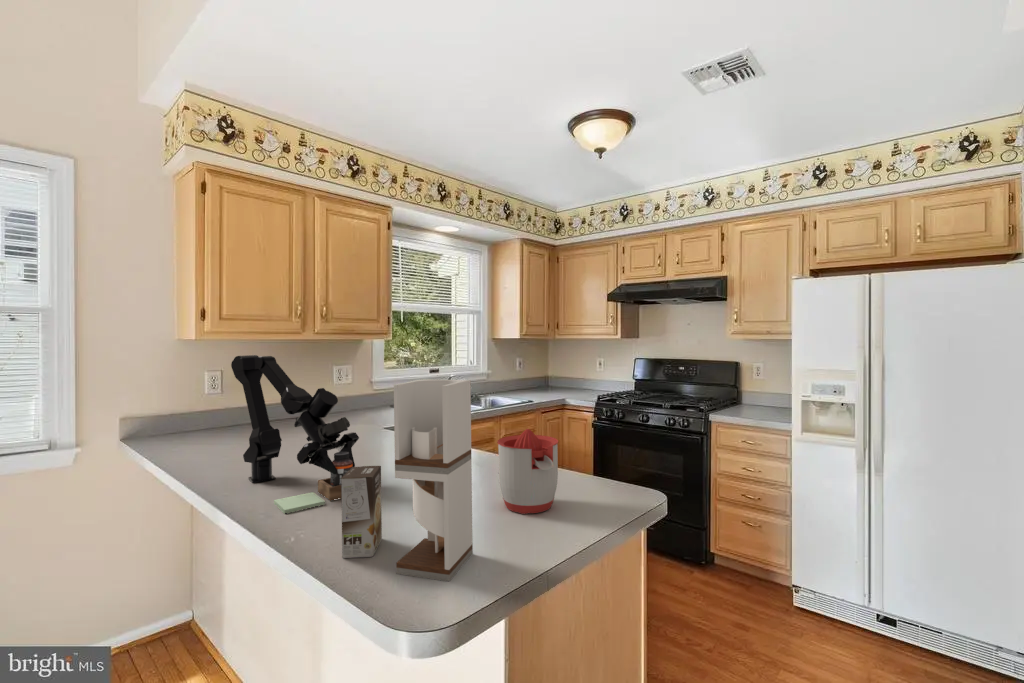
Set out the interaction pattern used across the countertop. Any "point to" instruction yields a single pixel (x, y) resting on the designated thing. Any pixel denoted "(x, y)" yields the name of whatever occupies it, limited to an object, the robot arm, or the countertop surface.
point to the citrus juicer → (528, 471)
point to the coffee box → (361, 511)
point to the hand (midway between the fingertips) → (345, 470)
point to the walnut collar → (329, 489)
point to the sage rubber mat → (298, 502)
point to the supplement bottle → (340, 467)
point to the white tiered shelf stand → (436, 472)
